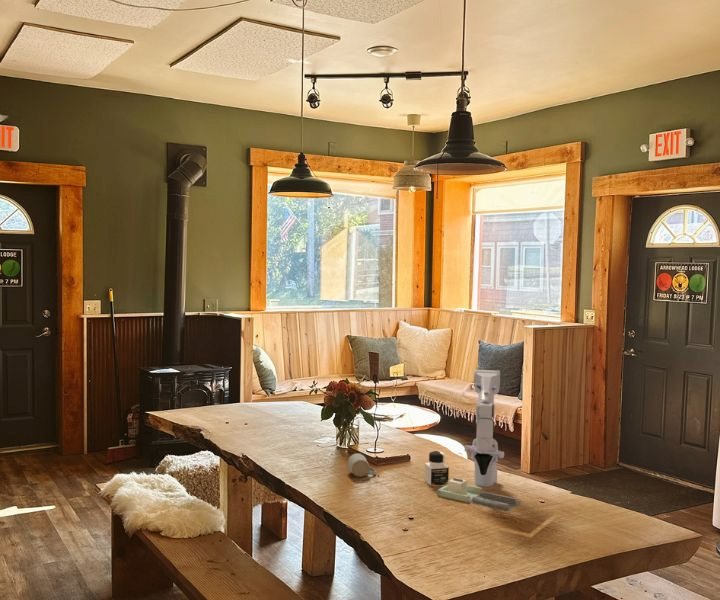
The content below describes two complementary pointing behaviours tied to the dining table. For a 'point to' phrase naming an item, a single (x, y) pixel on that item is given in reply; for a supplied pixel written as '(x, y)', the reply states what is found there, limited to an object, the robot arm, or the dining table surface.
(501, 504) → the dock
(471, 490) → the tray
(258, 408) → the dining table surface
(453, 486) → the beige cardboard box
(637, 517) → the dining table surface
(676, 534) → the dining table surface
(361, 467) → the ceramic mug
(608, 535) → the dining table surface
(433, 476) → the medicine bottle
